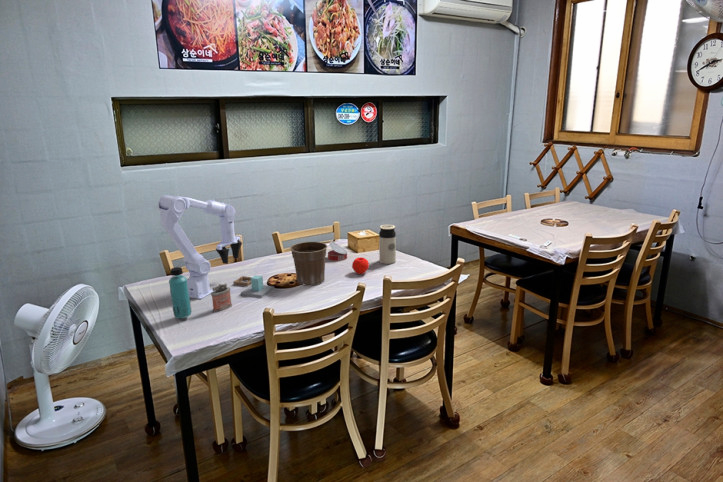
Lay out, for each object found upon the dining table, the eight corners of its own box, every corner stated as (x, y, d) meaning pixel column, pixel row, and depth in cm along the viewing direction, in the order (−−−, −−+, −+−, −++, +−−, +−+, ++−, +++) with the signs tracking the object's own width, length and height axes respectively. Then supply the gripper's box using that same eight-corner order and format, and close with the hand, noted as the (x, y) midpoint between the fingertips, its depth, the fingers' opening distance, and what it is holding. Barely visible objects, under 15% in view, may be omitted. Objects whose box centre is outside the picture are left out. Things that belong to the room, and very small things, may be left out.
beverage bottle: (194, 314, 184) (188, 264, 178) (189, 321, 177) (182, 271, 171) (177, 314, 183) (170, 265, 178) (171, 322, 177) (163, 271, 171)
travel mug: (377, 260, 240) (376, 225, 234) (392, 258, 242) (392, 223, 237) (382, 265, 232) (382, 229, 227) (398, 263, 235) (398, 227, 229)
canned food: (337, 263, 250) (342, 245, 251) (348, 266, 243) (354, 247, 244) (320, 257, 243) (325, 239, 244) (331, 260, 236) (337, 241, 237)
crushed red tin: (228, 304, 192) (226, 280, 189) (233, 306, 190) (231, 282, 187) (211, 310, 186) (208, 287, 183) (216, 313, 184) (213, 289, 181)
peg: (259, 291, 201) (257, 279, 200) (251, 290, 203) (250, 278, 201) (263, 288, 204) (262, 276, 203) (256, 287, 206) (255, 275, 204)
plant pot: (287, 278, 218) (285, 244, 213) (320, 272, 225) (318, 239, 220) (299, 290, 204) (297, 254, 199) (334, 283, 211) (333, 248, 206)
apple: (372, 274, 220) (371, 259, 218) (355, 277, 218) (355, 261, 215) (365, 269, 227) (365, 254, 225) (349, 271, 225) (349, 256, 223)
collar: (247, 286, 209) (247, 283, 209) (233, 284, 212) (233, 281, 211) (256, 280, 216) (255, 277, 215) (242, 279, 218) (242, 276, 218)
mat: (261, 297, 198) (261, 295, 197) (241, 294, 201) (240, 292, 201) (274, 288, 206) (274, 286, 206) (254, 285, 210) (254, 283, 210)
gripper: (225, 236, 201) (228, 266, 205) (245, 227, 214) (247, 256, 218) (211, 234, 203) (214, 265, 207) (231, 226, 216) (234, 254, 220)
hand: (230, 260), depth 213 cm, fingers open, 7 cm apart
